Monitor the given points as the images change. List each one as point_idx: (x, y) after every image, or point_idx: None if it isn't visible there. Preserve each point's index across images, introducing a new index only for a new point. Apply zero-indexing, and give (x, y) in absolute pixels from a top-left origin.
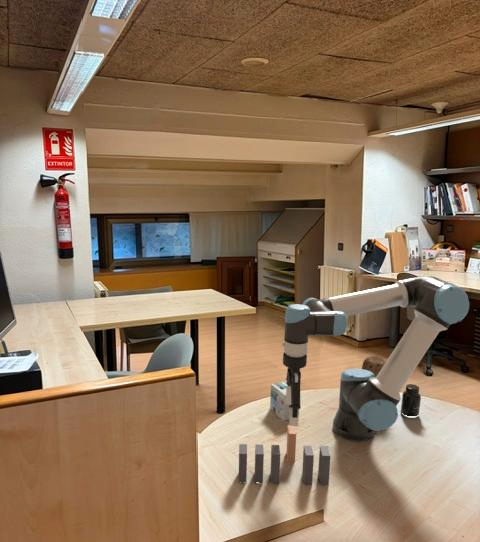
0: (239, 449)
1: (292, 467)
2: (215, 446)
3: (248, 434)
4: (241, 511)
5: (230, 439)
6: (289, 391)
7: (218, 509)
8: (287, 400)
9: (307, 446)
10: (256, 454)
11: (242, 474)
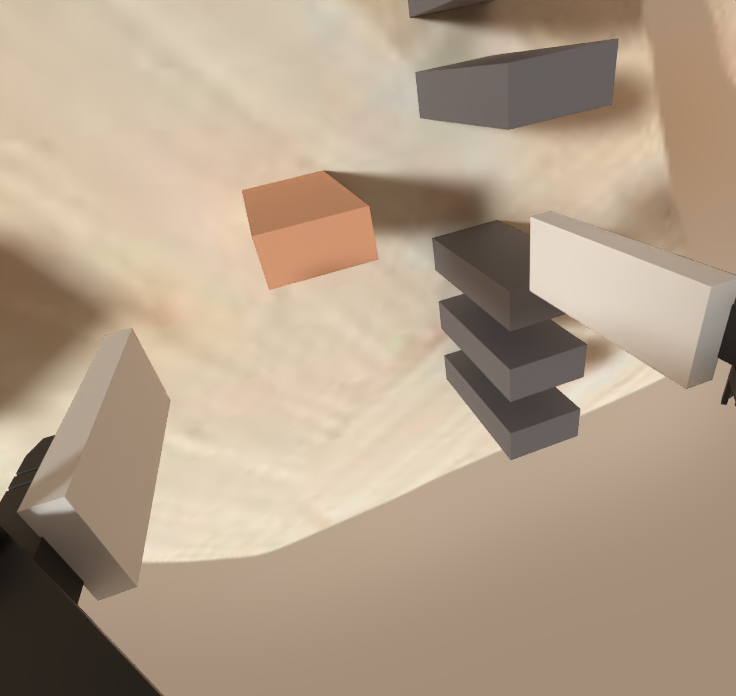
0: (549, 445)
1: (376, 177)
2: (312, 497)
3: (172, 433)
4: None
5: (246, 476)
6: (129, 489)
7: (607, 371)
8: (157, 415)
9: (517, 97)
10: (582, 372)
11: None
